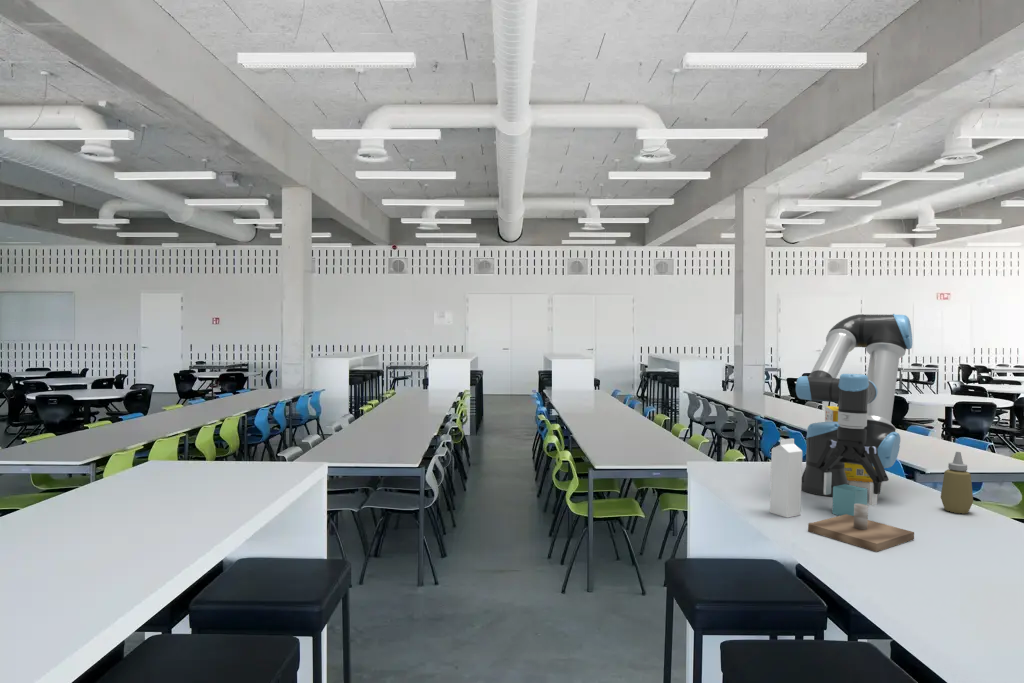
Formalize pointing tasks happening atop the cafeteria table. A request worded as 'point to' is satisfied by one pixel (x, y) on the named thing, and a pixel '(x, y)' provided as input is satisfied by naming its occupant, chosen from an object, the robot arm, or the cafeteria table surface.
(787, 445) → the milk
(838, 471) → the robot arm
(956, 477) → the squeeze bottle
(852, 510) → the teal block
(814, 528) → the walnut stand
